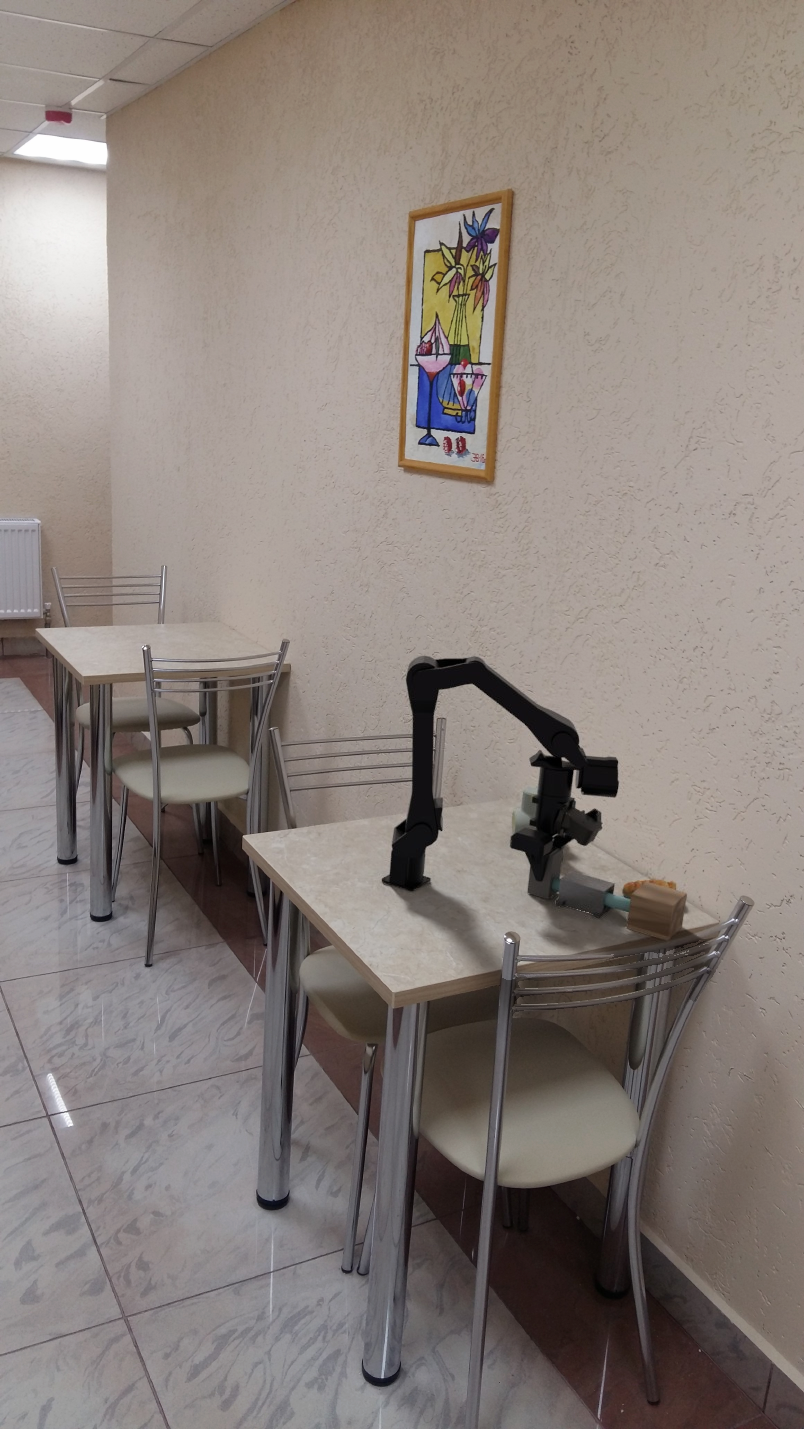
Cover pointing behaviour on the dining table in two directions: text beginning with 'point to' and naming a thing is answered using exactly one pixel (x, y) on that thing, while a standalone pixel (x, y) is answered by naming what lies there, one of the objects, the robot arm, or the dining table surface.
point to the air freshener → (524, 811)
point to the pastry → (633, 886)
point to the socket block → (656, 910)
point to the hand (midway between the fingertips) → (544, 877)
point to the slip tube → (552, 882)
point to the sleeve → (584, 893)
